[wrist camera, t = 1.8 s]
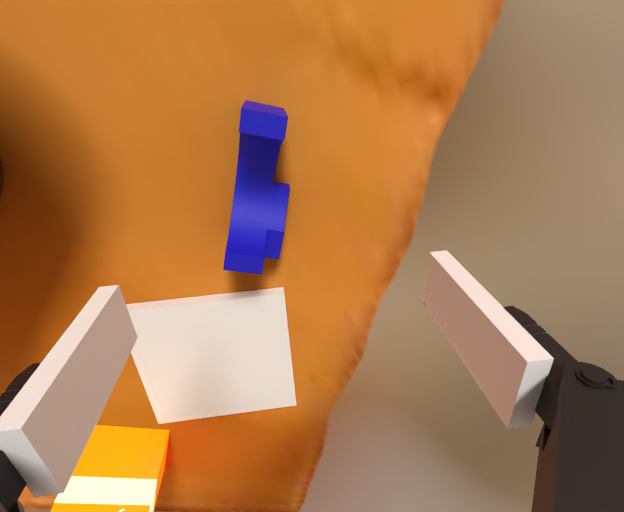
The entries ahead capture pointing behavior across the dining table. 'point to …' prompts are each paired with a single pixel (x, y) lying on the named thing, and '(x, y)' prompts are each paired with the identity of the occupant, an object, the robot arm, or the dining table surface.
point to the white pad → (214, 354)
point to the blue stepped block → (257, 191)
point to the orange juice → (117, 472)
